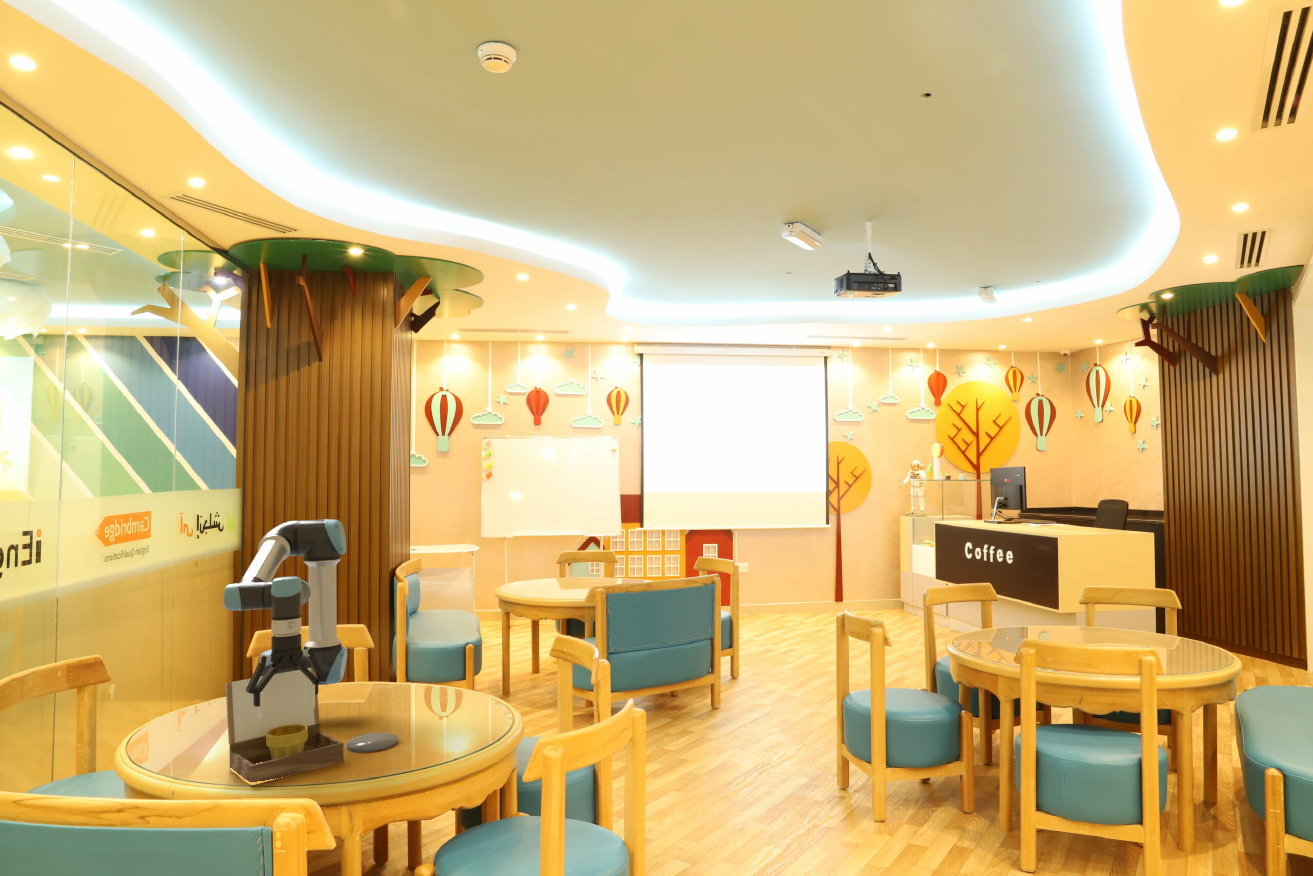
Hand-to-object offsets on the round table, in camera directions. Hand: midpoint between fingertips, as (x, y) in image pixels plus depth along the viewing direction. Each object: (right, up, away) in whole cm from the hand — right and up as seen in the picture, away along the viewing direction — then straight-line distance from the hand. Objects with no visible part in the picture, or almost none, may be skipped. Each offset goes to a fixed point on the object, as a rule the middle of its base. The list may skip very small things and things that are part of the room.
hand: (286, 713), depth 222 cm
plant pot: (0, -15, 0) cm, 15 cm away
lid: (-7, -8, +7) cm, 13 cm away
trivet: (+18, -15, +16) cm, 28 cm away
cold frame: (0, -14, 0) cm, 14 cm away
